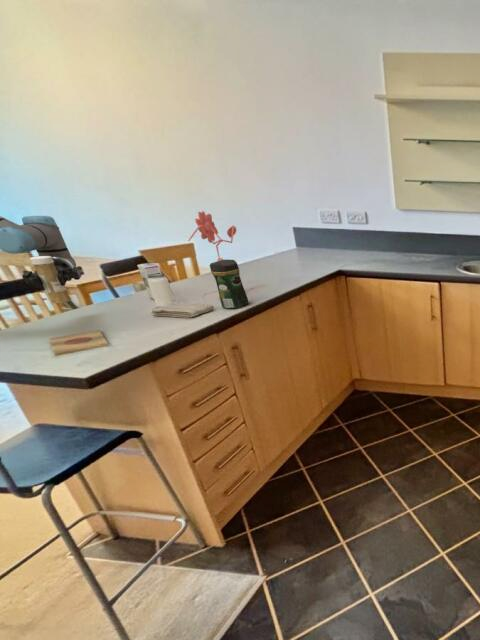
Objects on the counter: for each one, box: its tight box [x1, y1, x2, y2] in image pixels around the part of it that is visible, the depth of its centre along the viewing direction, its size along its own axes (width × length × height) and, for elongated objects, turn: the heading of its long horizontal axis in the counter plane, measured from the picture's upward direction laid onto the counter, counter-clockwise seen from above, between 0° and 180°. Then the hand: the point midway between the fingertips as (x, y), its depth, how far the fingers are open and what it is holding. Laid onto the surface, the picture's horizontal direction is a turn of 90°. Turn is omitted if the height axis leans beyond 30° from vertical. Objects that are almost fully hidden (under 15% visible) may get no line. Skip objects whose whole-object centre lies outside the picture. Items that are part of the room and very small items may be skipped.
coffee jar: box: [209, 259, 250, 310], centre depth 167 cm, size 10×8×19 cm
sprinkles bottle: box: [29, 255, 72, 304], centre depth 125 cm, size 5×5×13 cm
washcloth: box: [150, 301, 215, 319], centre depth 161 cm, size 12×18×3 cm, turn 84°
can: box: [147, 274, 177, 307], centre depth 168 cm, size 6×6×12 cm
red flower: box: [187, 210, 254, 301], centre depth 179 cm, size 15×26×35 cm, turn 2°
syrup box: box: [137, 262, 163, 300], centre depth 177 cm, size 6×6×14 cm
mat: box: [49, 329, 109, 357], centre depth 132 cm, size 18×12×1 cm, turn 48°
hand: (48, 282), depth 121 cm, fingers closed on sprinkles bottle, 4 cm apart
